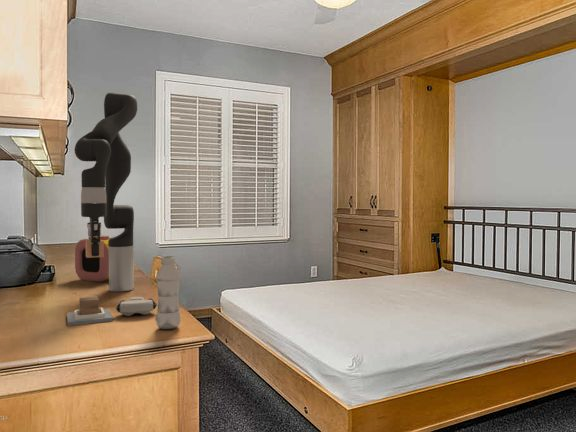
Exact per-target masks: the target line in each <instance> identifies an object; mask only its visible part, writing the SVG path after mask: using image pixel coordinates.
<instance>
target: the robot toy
mask: <svg viewBox="0 0 576 432" xmlns="http://www.w3.org/2000/svg"><path fill="white" fill-rule="evenodd" d="M114 306H115V310H117V311H118V312H119V313H120V314H123V315H124V316H126V317H130V316H131V315H132V316H133V315H134V314H140V315H142V316H146V314H147V315H149V314H150V312H153V310H155V309H156V308H157V307H158V302H157V303H156V301H155V299H153V298H148V299H145V298H144V297H143V296H134V297H133V296H132V297H130V298H129V299H128V300H124V299H123V300H120V301H118V304H117V305H114Z"/></svg>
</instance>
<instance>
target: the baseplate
mask: <svg viewBox="0 0 576 432" xmlns="http://www.w3.org/2000/svg"><path fill="white" fill-rule="evenodd" d="M66 318H67V319H66V320H67V321H66V322H67V327H71V326H79V325H86V324H87V325H88V324H95V323H104V322H113V321H114V317H113V315H112V313H111V310H110V308H103V307H99V313H98V314H88V315H80V309H74V311H71V312H66Z"/></svg>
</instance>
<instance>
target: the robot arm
mask: <svg viewBox="0 0 576 432" xmlns="http://www.w3.org/2000/svg"><path fill="white" fill-rule="evenodd" d="M137 101H138V100H137V98H136V97H135V96H134V95H132V94H127V93H119V92H108V93H106V94H105V97H104V100H103V111H104V112H103V115H104V117H103V119H101V120H99V121H98V123H96V125H95V126H94V127H93V129H92V131H91V130H90V132H88V133H86V134H84V135H83V136H82V137H80V138H79V139H78V140H77V142H76V143H75V145H74V155H75V157H76V158H77V159H78V160H79V161H82V162H95V163H94V165H93V166H92V167H89V168H86V169H83V170H81V177H80V178H81V190H80V211H81V212H80V215H81V217H82V218H88V219H89V222H87V223H86V227H87V236H88V239H89V241H90V240H91V255H92V256H99V244H100V236H101V235H102V233H101V232H102V230H101V229H102V222H99V221H100V220H99V218H103V223H104V227H105V228H106V229H109V230H110V229H111V230H112V229H115V230H117V229H123V231H122V232H121V233H120V234H117V236H112V237H109V238H110V239H109V241H108V252H109V279H108V291H110V292H127V291H133V290H134V287H135V285H134V284H135V281H134V280H135V279H134V278H135V276H134V274H135V273H134V272H135V271H134V270H135V269H134V267H135V265H134V224H135V223H134V221H135V211H134V208H133V206H132V205H130V204H115V199H116V196H118V195H117V194H118V193H119V191H120V190H121V187H122V186H123V185H124V183H125V182H126V181H127V180H128V178H129V176H130V174H131V172H132V171H131V170H132V168H131V167H132V155H131V152H130V150H129V147H128V146H127V144H126V143H125V140H123V137H121V134H120V132H121V130H123V128H125V127H126V126H127V125H128V124H129V123H130V122H132V121H133V120H134V118H135V117H136V116H137V113H138V102H137Z"/></svg>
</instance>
